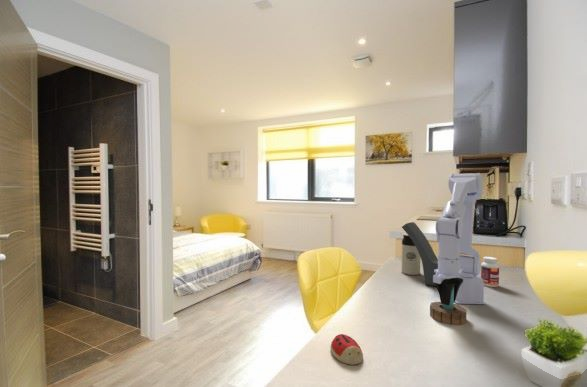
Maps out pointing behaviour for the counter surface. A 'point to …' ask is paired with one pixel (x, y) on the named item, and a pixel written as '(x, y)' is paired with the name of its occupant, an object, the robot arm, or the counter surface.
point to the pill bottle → (490, 272)
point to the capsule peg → (451, 305)
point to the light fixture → (423, 251)
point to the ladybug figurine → (346, 350)
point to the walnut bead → (448, 314)
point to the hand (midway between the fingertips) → (448, 302)
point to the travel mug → (410, 256)
